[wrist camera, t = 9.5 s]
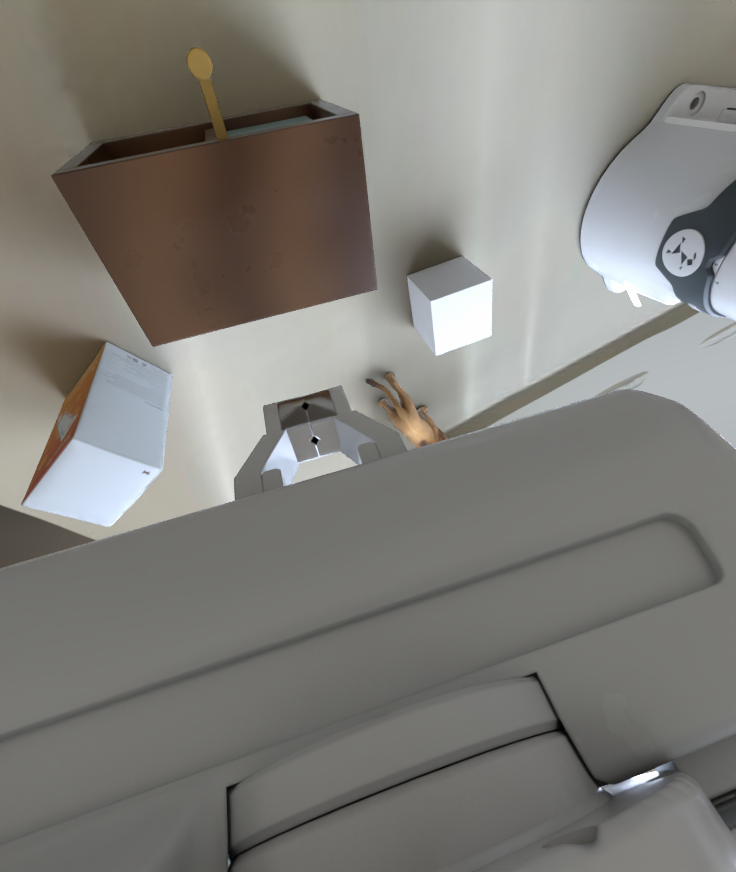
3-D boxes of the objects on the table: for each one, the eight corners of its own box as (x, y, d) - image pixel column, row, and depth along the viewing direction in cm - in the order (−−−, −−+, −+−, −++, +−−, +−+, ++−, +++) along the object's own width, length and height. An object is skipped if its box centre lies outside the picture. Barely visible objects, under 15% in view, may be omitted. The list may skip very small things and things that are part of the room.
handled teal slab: (290, 32, 25) (313, 26, 20) (307, 122, 28) (330, 138, 23) (177, 51, 24) (171, 51, 19) (208, 142, 27) (209, 162, 22)
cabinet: (321, 98, 28) (359, 113, 21) (343, 243, 35) (377, 289, 29) (89, 143, 26) (49, 175, 20) (162, 287, 34) (152, 347, 27)
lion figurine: (450, 412, 55) (482, 458, 48) (422, 437, 56) (449, 485, 50) (378, 361, 45) (406, 410, 39) (348, 393, 47) (370, 445, 41)
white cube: (464, 309, 44) (491, 335, 40) (413, 327, 44) (436, 356, 39) (462, 255, 40) (492, 279, 35) (406, 275, 39) (430, 301, 35)
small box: (105, 338, 35) (71, 436, 26) (174, 374, 39) (166, 470, 30) (62, 399, 38) (17, 507, 29) (131, 427, 42) (111, 529, 33)
